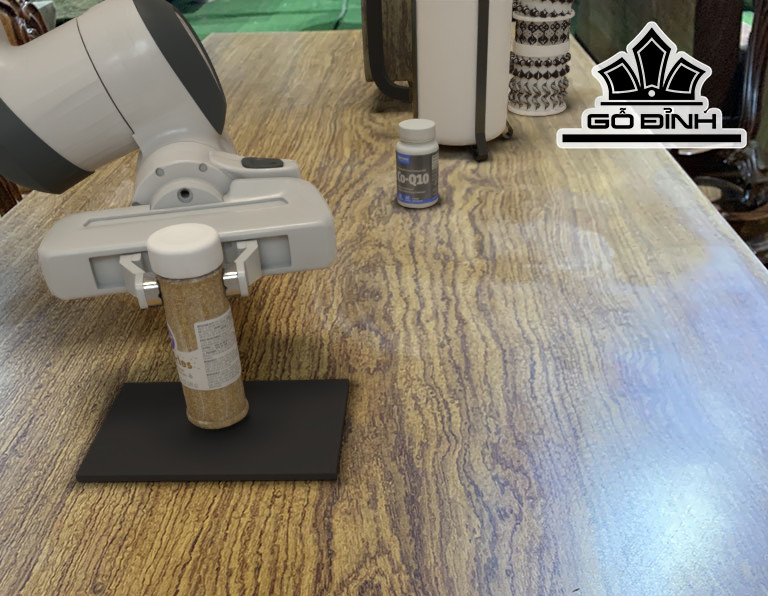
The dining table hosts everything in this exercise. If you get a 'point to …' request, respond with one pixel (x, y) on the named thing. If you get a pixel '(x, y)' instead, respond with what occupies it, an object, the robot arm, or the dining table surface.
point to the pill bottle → (417, 164)
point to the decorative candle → (540, 57)
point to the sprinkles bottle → (199, 322)
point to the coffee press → (453, 68)
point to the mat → (221, 435)
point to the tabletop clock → (391, 43)
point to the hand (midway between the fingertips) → (193, 292)
